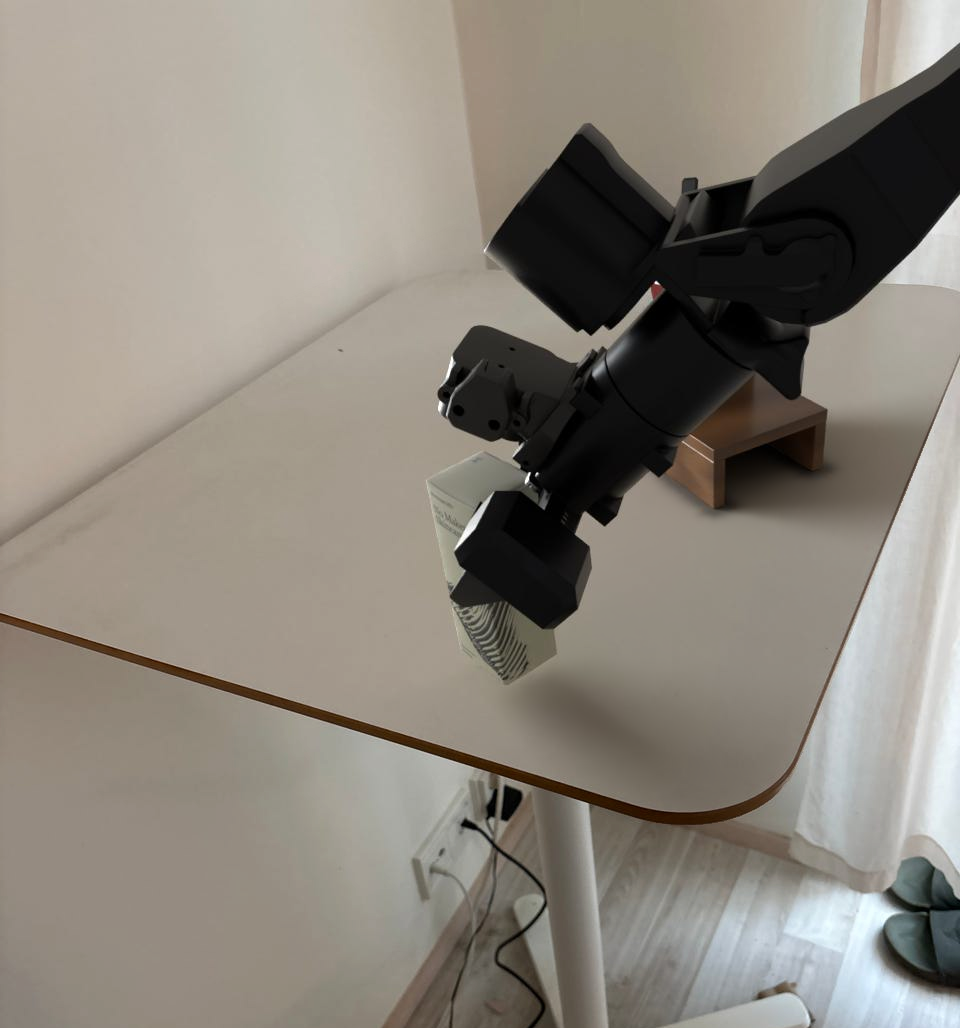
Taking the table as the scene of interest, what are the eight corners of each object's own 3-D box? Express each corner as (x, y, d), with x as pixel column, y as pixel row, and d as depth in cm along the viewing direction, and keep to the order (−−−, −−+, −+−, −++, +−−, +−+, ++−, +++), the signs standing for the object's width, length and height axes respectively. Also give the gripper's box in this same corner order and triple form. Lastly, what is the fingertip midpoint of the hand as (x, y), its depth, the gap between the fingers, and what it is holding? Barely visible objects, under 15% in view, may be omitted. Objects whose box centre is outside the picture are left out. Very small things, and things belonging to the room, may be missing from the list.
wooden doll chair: (822, 467, 74) (835, 317, 67) (713, 509, 72) (714, 358, 65) (746, 421, 82) (750, 281, 74) (644, 457, 80) (638, 317, 72)
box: (458, 652, 61) (418, 477, 53) (512, 620, 63) (480, 445, 55) (509, 691, 57) (473, 509, 49) (564, 656, 59) (539, 474, 51)
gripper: (565, 214, 51) (416, 407, 61) (461, 365, 37) (293, 579, 48) (717, 350, 53) (549, 514, 64) (670, 537, 40) (467, 706, 50)
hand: (472, 567), depth 56 cm, fingers closed on box, 6 cm apart
